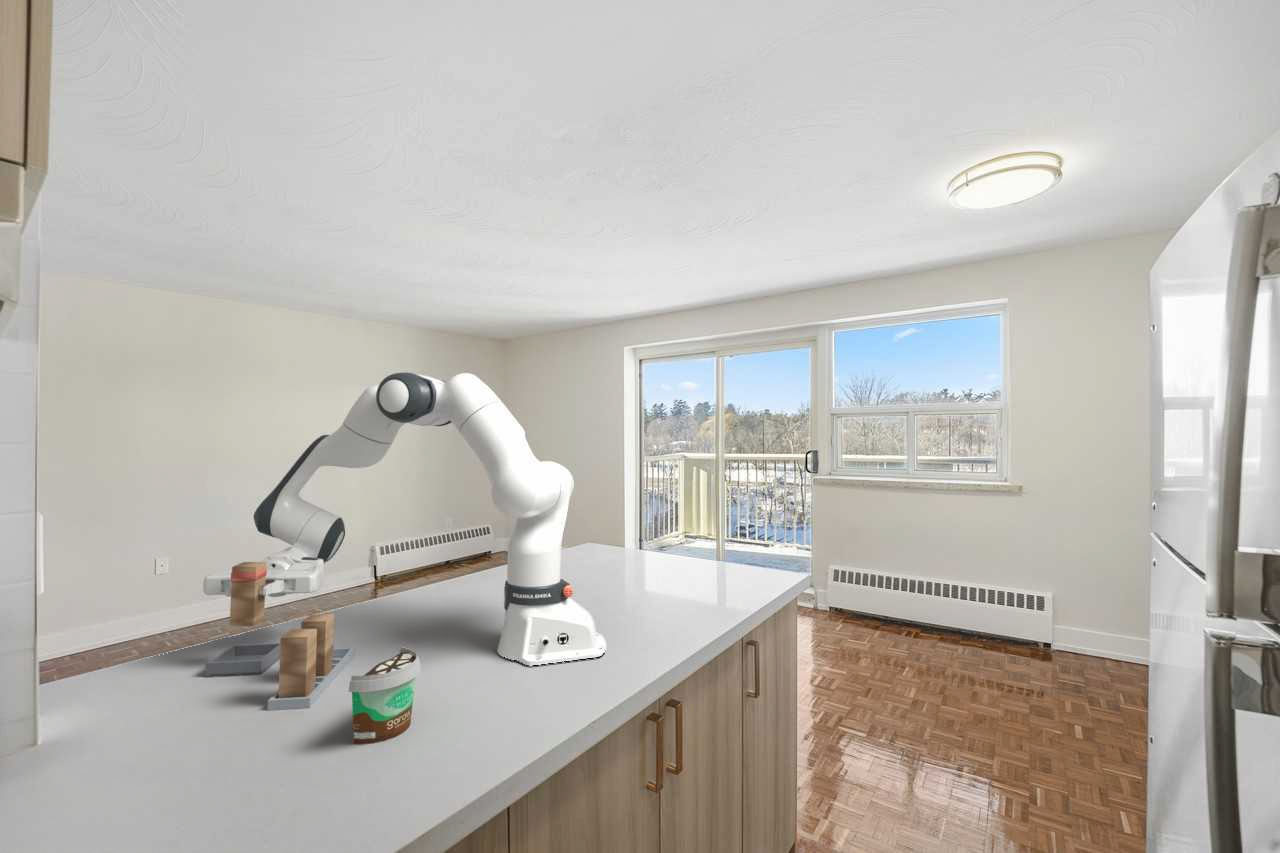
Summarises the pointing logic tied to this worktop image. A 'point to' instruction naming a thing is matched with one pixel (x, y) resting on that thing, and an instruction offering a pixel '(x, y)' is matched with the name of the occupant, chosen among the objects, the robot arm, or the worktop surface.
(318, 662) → the plain cartridge
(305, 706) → the holder
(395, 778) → the worktop surface
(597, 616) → the worktop surface
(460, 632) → the worktop surface
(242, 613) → the block
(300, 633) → the plain cartridge
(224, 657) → the tray
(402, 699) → the food container
